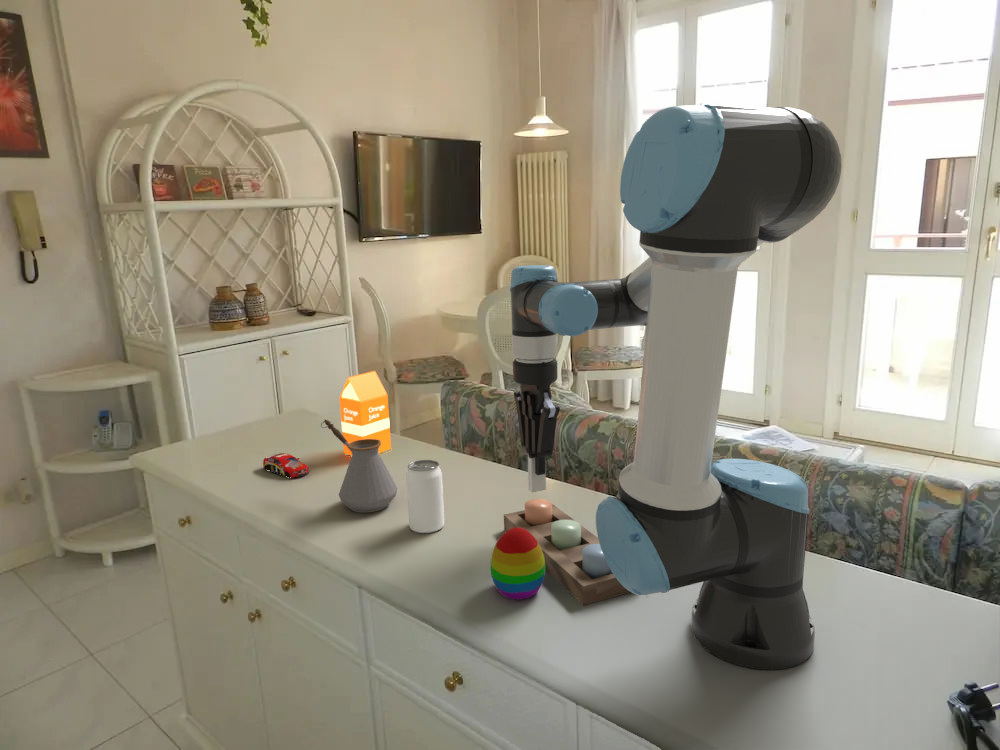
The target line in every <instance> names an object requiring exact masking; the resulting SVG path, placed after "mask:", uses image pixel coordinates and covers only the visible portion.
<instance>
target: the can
mask: <svg viewBox="0 0 1000 750" xmlns="http://www.w3.org/2000/svg"><path fill="white" fill-rule="evenodd" d="M439 465H440V463H439V462H438V461H437V460H432V459H420V460H415V461H412V462H410V463H409V464H408V465H407V468H408V469H407V471H406V474H405V475H406V476H405V477H406V479H405V480H406V481H405V482H406V494H407V495H406V496H407V497H406V498H407V499H406V500H407V510H408V513H407V514H408V524H409V525H408V526H409V528H410V529H411V530H412V532H413V533H417V534H422V533H423V534H424V533H426V534H432V533H436V532H438V530H439V531H440V530H442V528H443V527H444V526H445V508H444V488H443V473H442V470H441V468H440V466H439Z"/></svg>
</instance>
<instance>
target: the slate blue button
mask: <svg viewBox="0 0 1000 750" xmlns="http://www.w3.org/2000/svg"><path fill="white" fill-rule="evenodd" d="M582 567H583V572H585V573H586V574H587V575H588V576H589V577H590V578H592V579H594V578H598V577H602V576H605V575H609V574H613V573H612V571H611V569H610V568H609V566H608V564H607V562H606V559H605V557H604V554H603V552H602V549H601V546H600V544H591V545H587V546H585V547H584V548H583V550H582Z"/></svg>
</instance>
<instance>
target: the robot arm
mask: <svg viewBox="0 0 1000 750" xmlns="http://www.w3.org/2000/svg"><path fill="white" fill-rule="evenodd" d="M622 164H623V165H622V169H621V175H620V182H619V183H620V186H619V189H620V190H619V192H620V195H619V196H620V202H621V203H622V204H624V205H623V208H622V212H623V214H624V216H625V218H626V221H627V222H628V224H630V225H631V226H632V227H633V229H635V230H638V231H639V241H638V242H639V243H638V244H639V246H640V248H641V250H643V251H644V253H646V255H647V256H648V258H647V259H646V260H644V261H643V262H642V263H641V264H639V265H638V266H637V267H636V268H635V269H633V270H632V271H631V272H630V273H629V274H627V276H625V277H622V278H613V279H601V280H586V281H585V280H584V281H582V280H581V281H569V282H567V281H566V282H565V281H564V282H559V281H558V277H557V270H556V268H555V267H554V266H552V265H545V264H543V265H541V264H536V265H535V264H534V265H519V266H516V267H514V268H513V269H512V270H511V275H510V276H511V277H510V287H509V292H510V301H511V302H510V305H511V330H512V331H511V332H512V333H511V351H512V353H511V354H512V355H511V356H512V357H513V358H514V360H513V361H512V377H513V378H512V379H513V381H514V382H515V384H516V383H517V384H519V385H520V388H519V389H520V390H518V391H513V397H514V401H515V402H514V403H515V405H516V412H517V413H516V414H517V421H518V422H517V423H518V429H519V438H520V445H521V447H522V448H523V447H525V452H526V454H527V481H528V484H527V486H528V488H527V489H528V491H529V492H531V493H536V492H542V491H546V490H547V476H546V475H547V473H546V472H547V471H546V469H547V463H546V459H547V458H546V457H549V456H553V455H554V454H553V452H554V445H555V438H556V437H555V436H556V430H557V429H556V428H557V420H558V416H559V414H560V410H561V408H560V406H559V404H556V405H554V403H553V402H552V392H551V385H552V384H553V383H556V381H557V380H558V360H557V359H556V358H555V357H557V356H558V341H559V337H558V335H559V336H564V337H565V336H567V337H568V336H569V337H579V336H581V335H583V334H584V333H585V334H586V332H588V331H593V330H603V329H613V328H626V327H636V326H637V327H638V326H641V327H642V326H643V327H644V326H645V327H646V328H645V339H644V347H643V348H644V350H643V357H642V358H643V359H642V361H643V362H642V370H641V380H640V390H639V391H640V393H639V403H638V405H639V406H638V413H637V414H638V415H637V425H636V435H635V436H636V437H635V447H634V456H633V462H630V464H627V465H626V466H625V467H624V468H622V470H621V472H620V473H619V477H618V487H617V495H616V496H610V495H609V496H607V497H606V498H605V499H603V500H602V501H601V502H600V503H599V504H597V505H598V506H597V508H596V512H595V527H596V533H597V537H598V539H599V543H600V546H601V549H602V552H603V554H604V557H605V559H606V562H607V564H608V566H609V568H610V569H611V571H612V573H613V574H614V576H615V577H616V579H617V580H618V581H619V582H620V584H621V585H622V586H623V587H624V588H626V589H627V590H628V591H630V592H629V593H632V594H634V595H638V596H647V595H653V594H658V593H661V594H665V593H668V592H669V591H671V590H676V589H679V588H683V587H688V586H690V585H695V584H699V583H702V584H701V587H700V590H699V592H698V597H697V599H696V600H695V602H694V603H693V605H692V606H693V607H692V609H691V631H692V635H693V636H694V638H695V639H696V641H697V642H698V643H699V645H701V646H702V647H703V648H704V649H705V650H706V651H708V652H709V653H711V654H713V656H716V657H718V658H719V659H722V660H724V661H726V662H728V663H732V664H735V665H737V666H742V667H745V668H750V669H759V670H782V669H788V668H792V667H795V666H798V665H801V664H803V663H804V662H806V661H807V660H808V659H809V658H810V657H811V656H812V655H813V651H814V649H815V637H816V636H815V635H816V631H815V625H814V621H813V619H812V617H811V615H810V611H809V605H808V601H807V598H806V595H805V591H804V572H805V571H804V570H805V560H806V547H807V535H808V534H807V533H808V520H809V514H810V510H811V509H810V508H809V488H808V485H807V484H808V483H806V482H805V480H804V478H803V477H801V476H800V475H798V474H797V473H796V472H794V471H792V470H790V469H787V468H786V467H783V466H779V465H776V464H773V463H768V462H765V461H761V460H760V461H759V460H754V459H748V458H747V459H746V458H745V459H744V458H721V459H718V460H715V461H714V462H713V463H712V461H713V453H714V447H715V441H716V440H715V438H716V432H717V423H718V417H719V408H720V402H721V396H722V395H721V394H722V387H723V380H724V374H725V373H724V372H725V364H726V360H727V359H726V358H727V351H728V344H729V336H730V327H731V321H732V314H733V307H734V299H735V292H736V286H737V277H738V270H739V267H740V266H741V264H742V263H743V262H745V261H746V260H747V259H749V258H750V257H751V256H752V255H754V254H756V252H757V248H758V247H759V246H760V245H762V244H763V243H769V244H773V243H774V244H776V243H779V242H781V241H783V240H786V239H787V238H789V237H790V236H792V235H793V234H795V233H796V232H799V230H801V229H803V228H804V227H805V226H806V225H808V224H809V223H811V222H812V221H813V220H814V219H815V218H816V217H818V216H819V215H820V214H821V213H822V212H823V211H824V209H826V207H827V206H828V205H829V203H830V202H831V201H832V199H833V198H834V195H835V194H836V191H837V189H838V186H839V183H840V179H841V174H842V155H841V150H840V147H839V144H838V141H837V139H836V137H835V136H834V133H833V132H832V130H831V129H830V127H828V126H827V124H826V123H824V122H823V121H822V120H821V119H819V118H818V117H816V116H815V115H813V114H812V113H810V112H807V111H805V110H802V109H798V108H793V107H784V106H782V107H781V106H778V107H777V106H776V107H762V106H761V107H758V106H742V105H741V106H739V105H738V106H737V105H724V104H722V105H721V104H707V103H702V102H701V103H699V104H688V105H674V106H669V107H665V108H662V109H660V110H658V111H657V112H655V113H653V114H652V115H651V116H650V117H648V119H646V121H645V122H643V123H642V125H641V127H640V129H639V130H638V131H637V132H636V133H635V135H634V136H633V138H632V141H631V142H630V144H629V146H628V149H627V151H626V154H625V157H624V160H623V163H622Z"/></svg>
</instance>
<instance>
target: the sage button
mask: <svg viewBox="0 0 1000 750" xmlns="http://www.w3.org/2000/svg"><path fill="white" fill-rule="evenodd" d="M573 520H574V519H573ZM573 520H558V521H555V522H553V523H552V525H551V540H552V545H553V546H554V547H556V548H557V549H558V550H559V551H560V550H564V549H568V548H572V547H576V546H580V545H581V526H582V525H581V523H580V522H578V521H576V520H575V521H573Z"/></svg>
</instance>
